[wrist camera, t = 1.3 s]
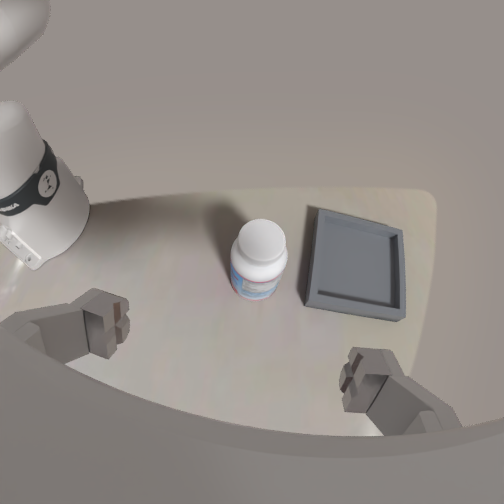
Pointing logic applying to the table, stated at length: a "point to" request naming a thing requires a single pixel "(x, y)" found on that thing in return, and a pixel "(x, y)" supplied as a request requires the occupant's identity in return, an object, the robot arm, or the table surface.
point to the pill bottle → (258, 259)
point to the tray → (356, 268)
